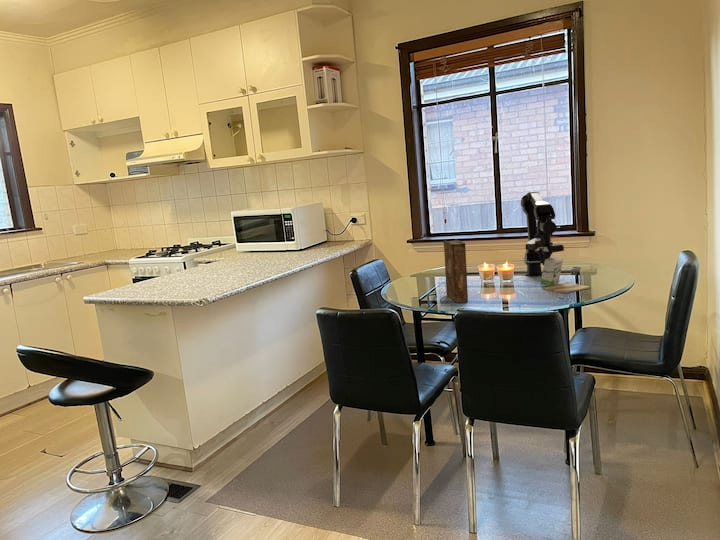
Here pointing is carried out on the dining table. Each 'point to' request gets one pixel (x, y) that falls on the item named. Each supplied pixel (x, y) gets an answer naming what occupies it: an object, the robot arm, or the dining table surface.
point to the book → (456, 271)
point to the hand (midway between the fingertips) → (544, 265)
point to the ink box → (551, 271)
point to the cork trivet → (566, 288)
